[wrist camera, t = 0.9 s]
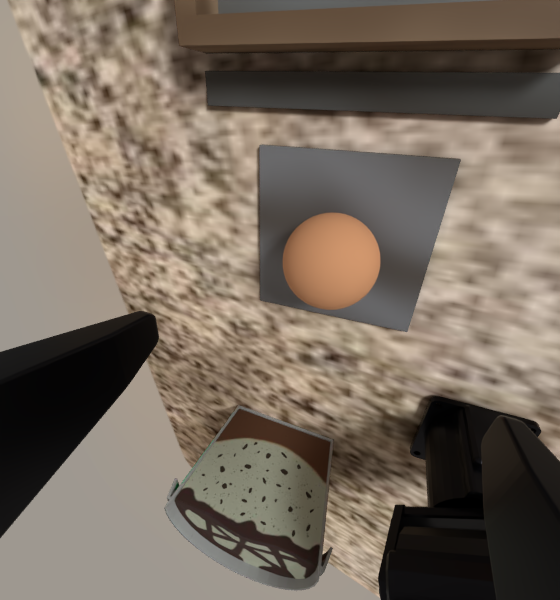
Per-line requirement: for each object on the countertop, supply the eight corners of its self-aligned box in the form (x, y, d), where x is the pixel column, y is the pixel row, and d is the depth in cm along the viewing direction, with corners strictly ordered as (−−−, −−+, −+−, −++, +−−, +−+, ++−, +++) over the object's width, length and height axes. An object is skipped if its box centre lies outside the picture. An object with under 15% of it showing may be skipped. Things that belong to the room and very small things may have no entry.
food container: (224, 437, 34) (167, 540, 26) (224, 399, 30) (157, 505, 22) (336, 481, 31) (311, 613, 23) (350, 445, 27) (326, 585, 19)
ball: (374, 290, 19) (365, 338, 15) (295, 275, 20) (268, 316, 16) (392, 207, 16) (387, 239, 12) (300, 197, 18) (269, 223, 14)
